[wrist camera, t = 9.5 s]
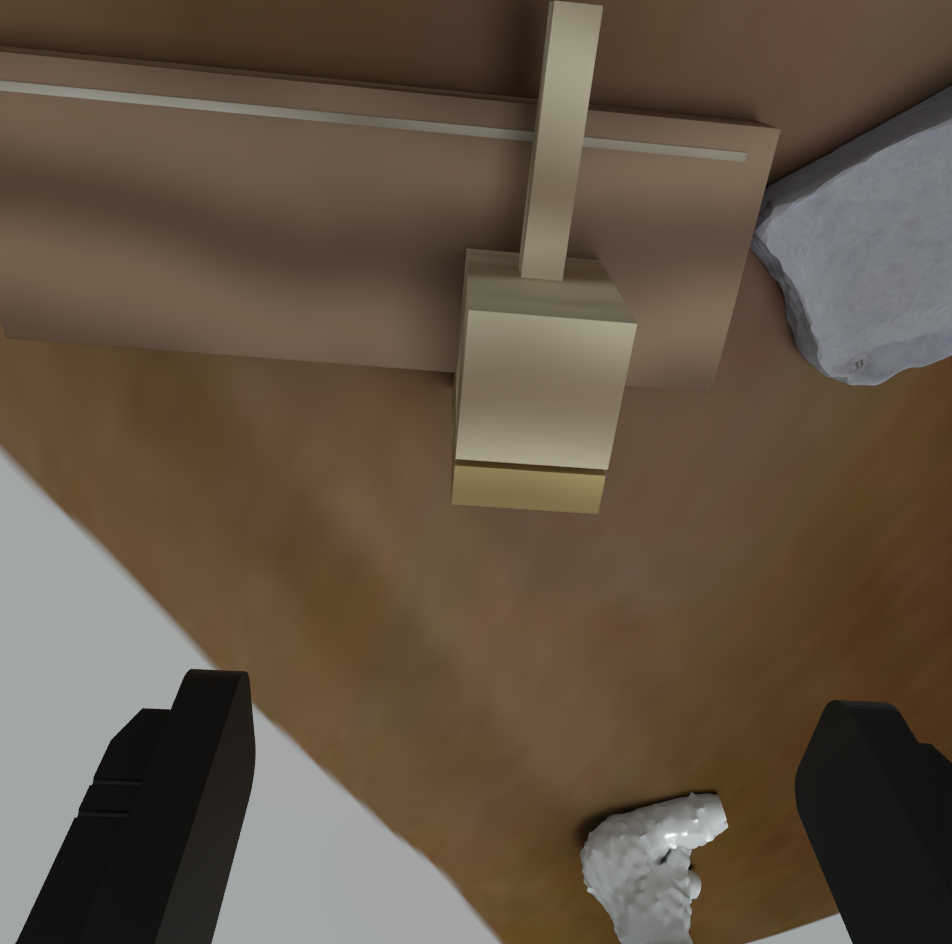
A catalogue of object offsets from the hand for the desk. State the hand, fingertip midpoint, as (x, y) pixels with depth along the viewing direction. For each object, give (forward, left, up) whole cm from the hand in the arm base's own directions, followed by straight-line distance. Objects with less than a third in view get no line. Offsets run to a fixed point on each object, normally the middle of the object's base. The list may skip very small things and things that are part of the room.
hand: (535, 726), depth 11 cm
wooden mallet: (-2, +2, -24) cm, 24 cm away
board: (-1, -4, -24) cm, 24 cm away
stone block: (-2, +17, -25) cm, 30 cm away
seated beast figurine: (+36, +14, -24) cm, 46 cm away
